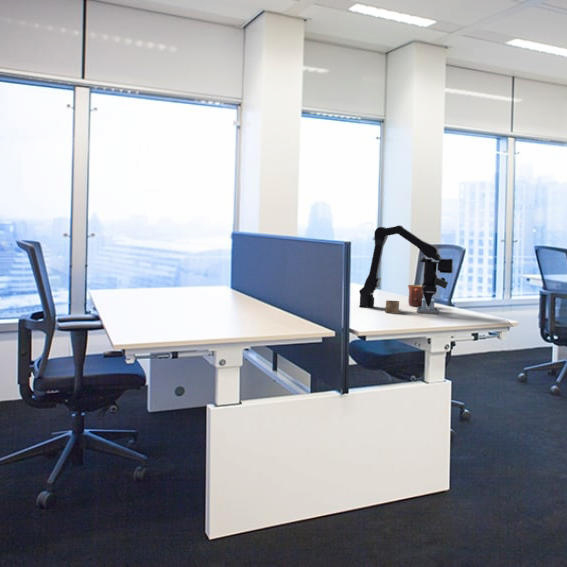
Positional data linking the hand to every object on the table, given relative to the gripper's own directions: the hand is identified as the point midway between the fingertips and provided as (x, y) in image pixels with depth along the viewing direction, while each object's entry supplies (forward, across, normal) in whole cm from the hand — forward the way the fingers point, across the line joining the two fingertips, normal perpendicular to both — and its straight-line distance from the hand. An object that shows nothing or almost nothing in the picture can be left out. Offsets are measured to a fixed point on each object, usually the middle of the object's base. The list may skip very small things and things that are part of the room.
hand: (428, 304), depth 283 cm
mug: (+4, +16, +5) cm, 18 cm away
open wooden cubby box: (+4, -8, +16) cm, 18 cm away
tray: (+4, 0, 0) cm, 4 cm away
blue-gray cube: (+3, 0, 0) cm, 3 cm away
